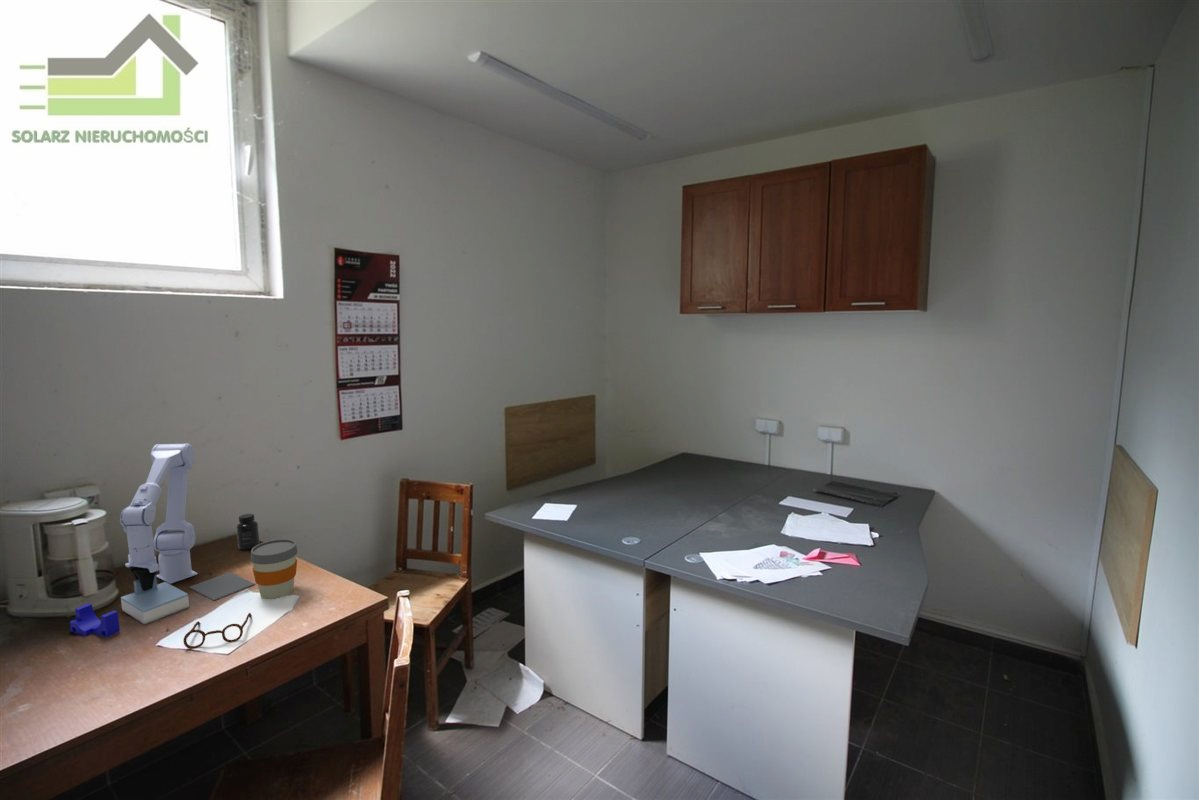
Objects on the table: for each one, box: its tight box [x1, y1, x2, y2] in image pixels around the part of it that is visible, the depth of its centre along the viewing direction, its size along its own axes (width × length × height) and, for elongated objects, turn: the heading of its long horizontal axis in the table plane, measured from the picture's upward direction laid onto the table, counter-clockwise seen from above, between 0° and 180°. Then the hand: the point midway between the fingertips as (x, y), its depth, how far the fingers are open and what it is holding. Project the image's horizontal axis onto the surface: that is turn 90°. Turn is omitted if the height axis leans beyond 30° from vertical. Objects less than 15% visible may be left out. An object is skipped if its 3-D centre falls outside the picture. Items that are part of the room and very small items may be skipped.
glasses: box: [183, 612, 252, 650], centre depth 151 cm, size 13×13×5 cm
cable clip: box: [69, 603, 121, 638], centre depth 150 cm, size 12×4×6 cm, turn 72°
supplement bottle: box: [235, 513, 261, 551], centre depth 205 cm, size 7×7×12 cm
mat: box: [188, 571, 256, 602], centre depth 176 cm, size 15×12×1 cm
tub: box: [120, 595, 190, 625], centre depth 162 cm, size 14×11×4 cm
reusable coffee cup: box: [250, 538, 298, 600], centre depth 172 cm, size 12×13×15 cm
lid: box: [120, 574, 189, 613], centre depth 161 cm, size 14×11×6 cm
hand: (146, 588), depth 164 cm, fingers closed on lid
